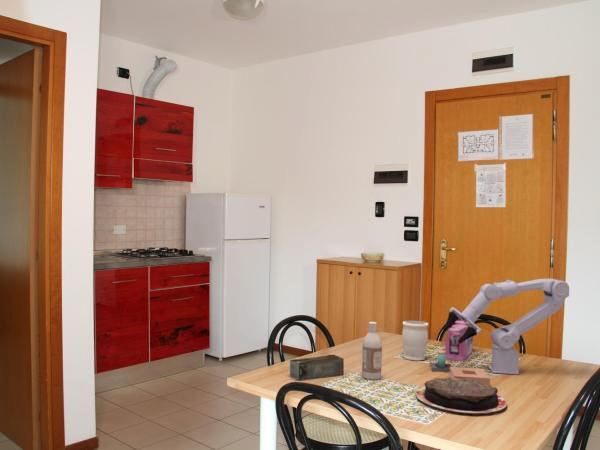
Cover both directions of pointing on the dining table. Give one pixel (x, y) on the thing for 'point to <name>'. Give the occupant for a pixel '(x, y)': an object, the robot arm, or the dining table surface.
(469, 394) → the chocolate cake
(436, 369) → the mount
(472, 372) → the socket
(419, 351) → the jar
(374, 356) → the bath foam
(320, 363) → the dark grey long block
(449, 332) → the gum box
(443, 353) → the pin
